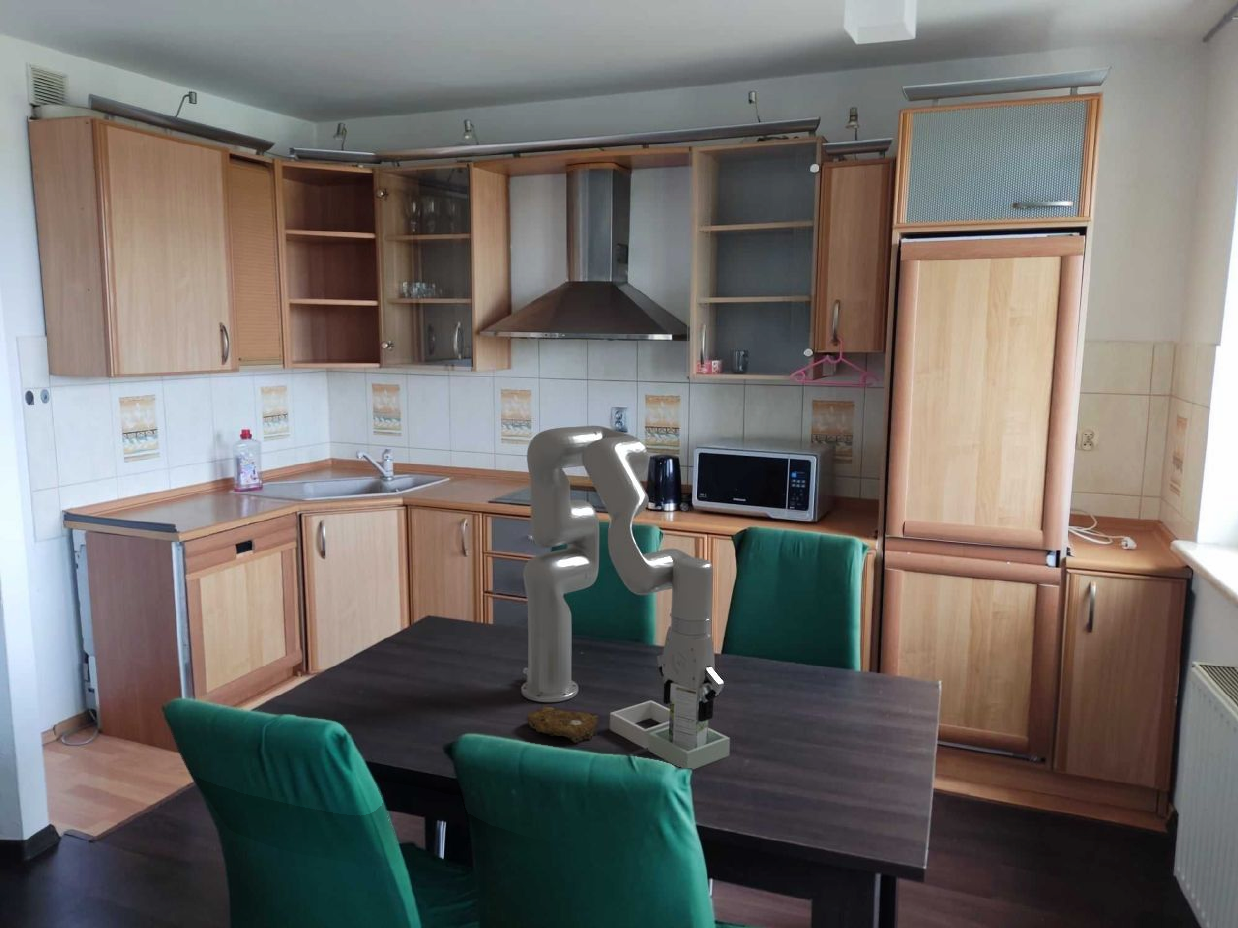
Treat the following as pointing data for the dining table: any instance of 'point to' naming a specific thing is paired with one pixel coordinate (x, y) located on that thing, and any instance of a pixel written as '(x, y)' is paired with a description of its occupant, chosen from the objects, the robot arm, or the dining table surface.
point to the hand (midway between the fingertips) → (687, 710)
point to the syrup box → (686, 718)
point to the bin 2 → (694, 758)
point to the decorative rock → (564, 723)
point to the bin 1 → (627, 718)
